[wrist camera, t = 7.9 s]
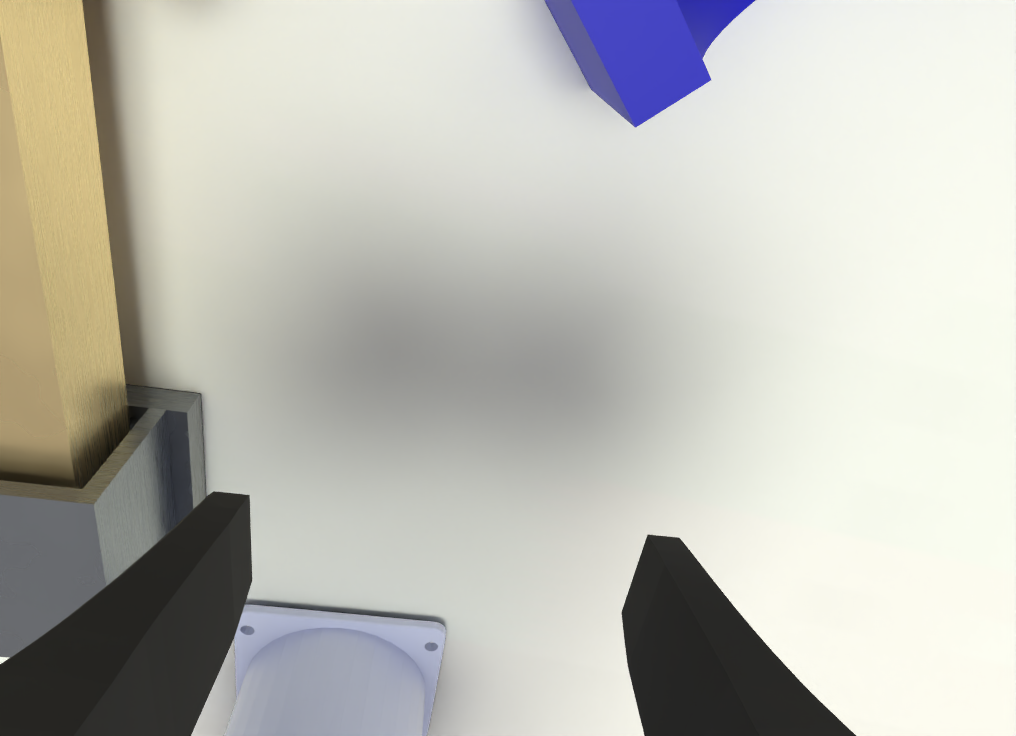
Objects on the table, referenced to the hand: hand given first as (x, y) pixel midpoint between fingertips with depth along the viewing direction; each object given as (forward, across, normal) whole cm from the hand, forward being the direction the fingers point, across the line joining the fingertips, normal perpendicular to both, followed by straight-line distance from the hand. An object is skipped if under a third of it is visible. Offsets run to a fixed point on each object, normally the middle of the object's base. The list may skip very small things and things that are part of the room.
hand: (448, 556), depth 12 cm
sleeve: (+9, +11, +6) cm, 16 cm away
